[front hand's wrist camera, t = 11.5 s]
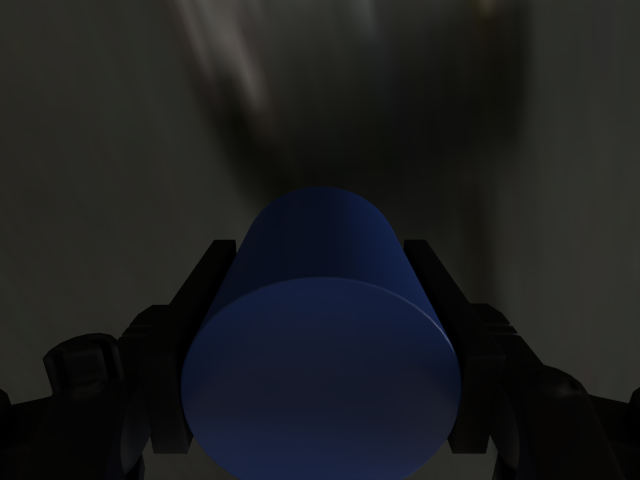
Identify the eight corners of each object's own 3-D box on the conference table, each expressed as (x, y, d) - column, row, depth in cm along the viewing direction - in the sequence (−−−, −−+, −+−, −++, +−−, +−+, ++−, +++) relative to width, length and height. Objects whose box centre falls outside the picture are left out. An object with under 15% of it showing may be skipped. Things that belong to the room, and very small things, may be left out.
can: (211, 236, 15) (119, 362, 8) (351, 155, 14) (383, 220, 7) (294, 350, 17) (277, 531, 10) (424, 287, 16) (504, 441, 9)
